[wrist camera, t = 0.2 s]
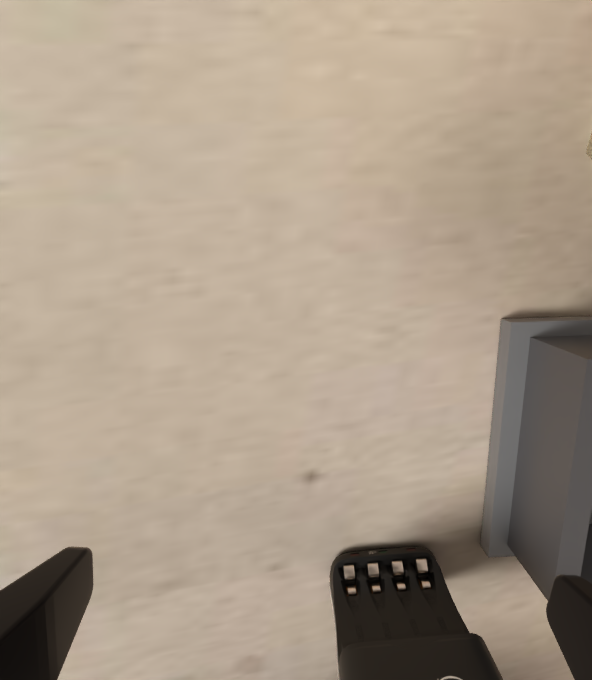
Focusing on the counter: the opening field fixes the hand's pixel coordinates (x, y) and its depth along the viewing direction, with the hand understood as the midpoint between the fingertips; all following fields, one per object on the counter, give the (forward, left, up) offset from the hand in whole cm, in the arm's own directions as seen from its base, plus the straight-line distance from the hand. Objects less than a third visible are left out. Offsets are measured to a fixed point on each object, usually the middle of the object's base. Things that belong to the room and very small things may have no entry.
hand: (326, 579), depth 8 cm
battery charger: (-13, -5, -14) cm, 20 cm away
